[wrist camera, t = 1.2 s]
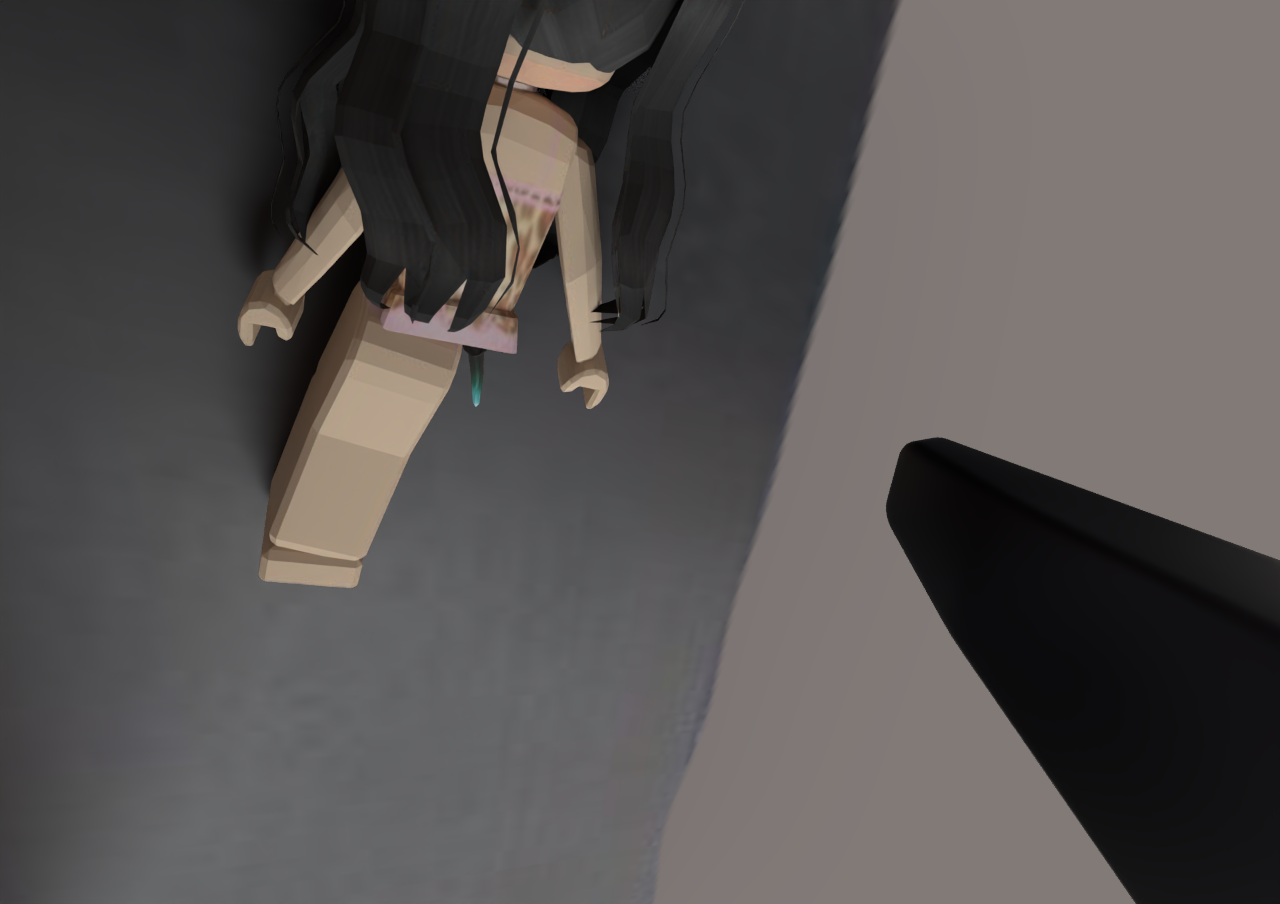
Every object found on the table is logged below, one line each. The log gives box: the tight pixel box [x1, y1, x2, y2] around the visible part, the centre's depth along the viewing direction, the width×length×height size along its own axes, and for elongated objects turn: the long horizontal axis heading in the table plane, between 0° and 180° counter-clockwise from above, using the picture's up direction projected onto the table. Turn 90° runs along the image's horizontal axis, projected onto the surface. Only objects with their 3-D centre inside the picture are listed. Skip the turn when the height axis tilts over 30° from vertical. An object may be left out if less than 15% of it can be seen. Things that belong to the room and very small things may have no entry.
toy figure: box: [238, 0, 745, 588], centre depth 16 cm, size 7×6×15 cm
